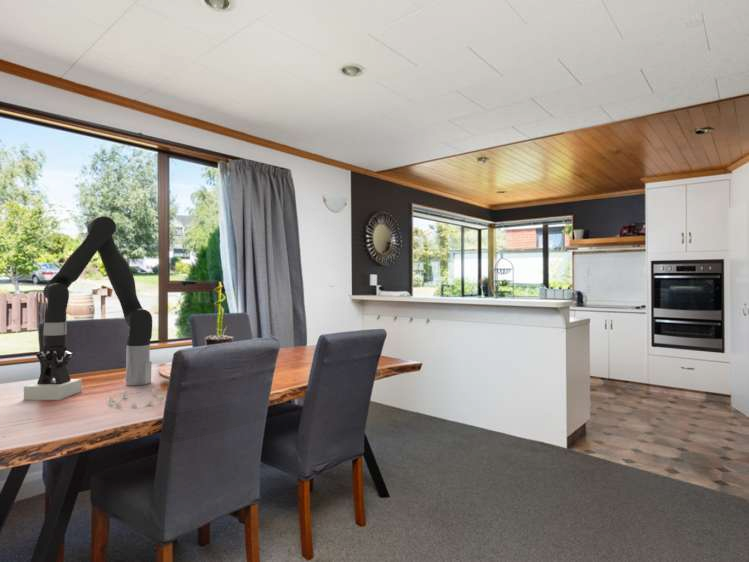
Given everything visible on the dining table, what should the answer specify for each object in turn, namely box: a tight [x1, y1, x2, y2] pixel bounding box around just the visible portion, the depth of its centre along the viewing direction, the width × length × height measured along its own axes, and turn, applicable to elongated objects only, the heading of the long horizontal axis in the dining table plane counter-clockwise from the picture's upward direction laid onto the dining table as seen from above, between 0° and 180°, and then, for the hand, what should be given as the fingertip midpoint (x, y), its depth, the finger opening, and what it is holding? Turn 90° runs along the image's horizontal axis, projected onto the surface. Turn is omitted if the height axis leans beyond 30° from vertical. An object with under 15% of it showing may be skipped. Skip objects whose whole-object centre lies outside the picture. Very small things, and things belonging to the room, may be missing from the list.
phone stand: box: [36, 353, 71, 384], centre depth 179 cm, size 9×6×12 cm, turn 92°
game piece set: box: [106, 388, 164, 409], centre depth 172 cm, size 19×20×4 cm
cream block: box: [23, 378, 83, 401], centre depth 179 cm, size 13×14×5 cm
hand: (54, 377), depth 179 cm, fingers closed
